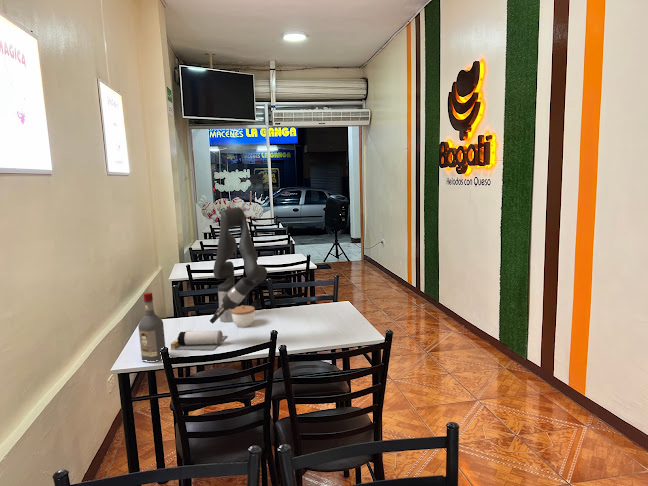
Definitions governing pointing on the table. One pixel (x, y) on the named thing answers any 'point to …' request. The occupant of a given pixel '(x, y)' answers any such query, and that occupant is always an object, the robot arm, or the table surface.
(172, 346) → the rail
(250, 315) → the lidded bowl
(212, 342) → the travel mug
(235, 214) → the robot arm
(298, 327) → the table surface
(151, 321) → the liquor
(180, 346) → the mat
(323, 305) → the table surface
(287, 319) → the table surface
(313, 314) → the table surface
